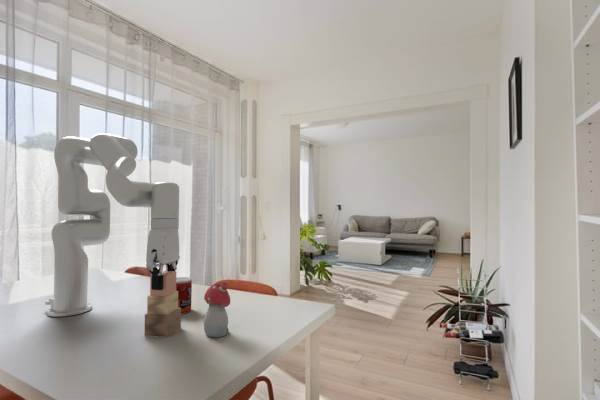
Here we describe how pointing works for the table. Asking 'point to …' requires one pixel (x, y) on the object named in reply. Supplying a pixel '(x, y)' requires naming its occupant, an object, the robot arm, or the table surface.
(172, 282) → the terracotta block
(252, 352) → the table surface
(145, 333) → the walnut base
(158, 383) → the table surface
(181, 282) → the canned food
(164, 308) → the oak block
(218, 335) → the decorative ornament
